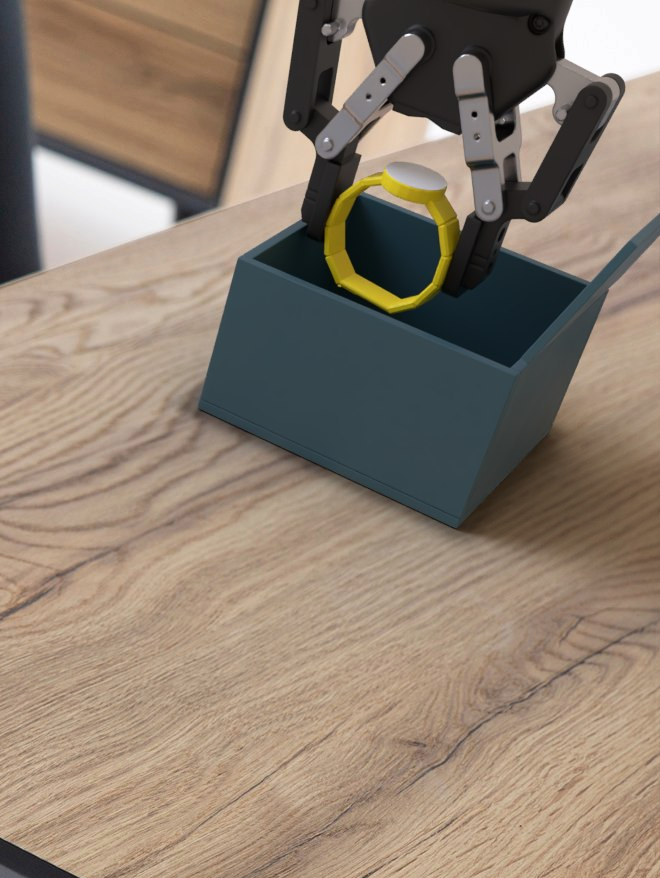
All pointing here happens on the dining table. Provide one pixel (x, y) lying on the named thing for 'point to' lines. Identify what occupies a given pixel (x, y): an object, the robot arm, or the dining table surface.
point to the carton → (395, 361)
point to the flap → (598, 285)
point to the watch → (409, 186)
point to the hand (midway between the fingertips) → (387, 261)
